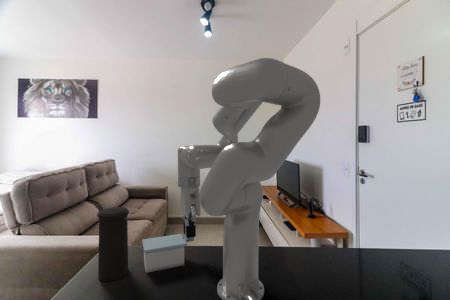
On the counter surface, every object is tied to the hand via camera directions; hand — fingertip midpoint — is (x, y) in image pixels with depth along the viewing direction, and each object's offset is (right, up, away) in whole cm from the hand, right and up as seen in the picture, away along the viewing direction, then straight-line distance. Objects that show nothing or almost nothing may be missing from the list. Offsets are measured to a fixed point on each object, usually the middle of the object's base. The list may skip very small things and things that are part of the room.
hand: (189, 234), depth 81 cm
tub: (-8, -8, -3) cm, 12 cm away
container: (-22, -9, -10) cm, 25 cm away
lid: (-6, -3, -3) cm, 7 cm away
